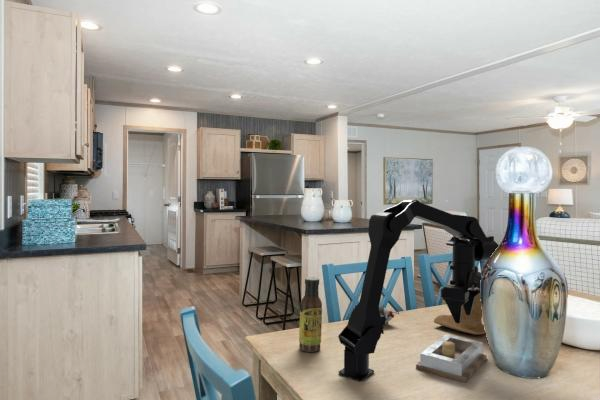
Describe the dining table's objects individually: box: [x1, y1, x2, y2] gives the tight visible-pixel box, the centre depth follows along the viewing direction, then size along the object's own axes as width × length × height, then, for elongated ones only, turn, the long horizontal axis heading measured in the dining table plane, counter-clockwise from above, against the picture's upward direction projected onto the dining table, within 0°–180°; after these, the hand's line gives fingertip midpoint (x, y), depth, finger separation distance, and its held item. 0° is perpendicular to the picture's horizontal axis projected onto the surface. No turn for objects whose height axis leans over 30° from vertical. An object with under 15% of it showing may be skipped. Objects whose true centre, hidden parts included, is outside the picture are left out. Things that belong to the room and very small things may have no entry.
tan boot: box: [433, 288, 486, 336], centre depth 130 cm, size 15×12×15 cm
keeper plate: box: [415, 341, 488, 384], centre depth 104 cm, size 18×12×6 cm, turn 141°
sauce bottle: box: [298, 276, 323, 353], centre depth 113 cm, size 6×6×20 cm
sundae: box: [352, 304, 400, 326], centre depth 135 cm, size 7×7×15 cm
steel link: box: [419, 333, 484, 377], centre depth 104 cm, size 18×10×3 cm, turn 141°
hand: (463, 318), depth 110 cm, fingers open, 9 cm apart
